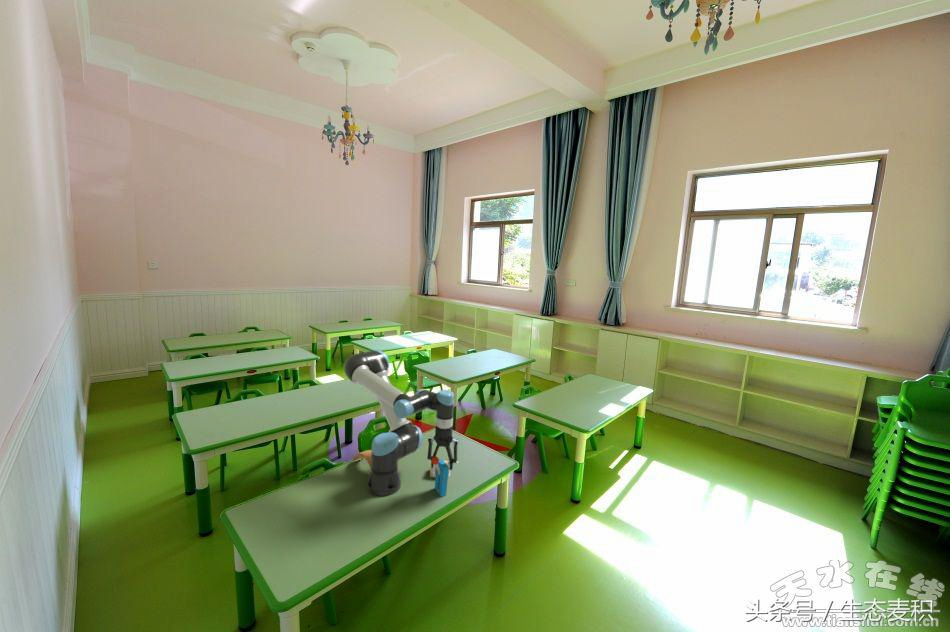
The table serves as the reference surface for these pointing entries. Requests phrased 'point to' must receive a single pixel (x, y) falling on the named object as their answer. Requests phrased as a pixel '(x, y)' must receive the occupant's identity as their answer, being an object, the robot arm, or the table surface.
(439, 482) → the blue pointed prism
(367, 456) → the arch
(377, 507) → the table surface
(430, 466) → the oak block
